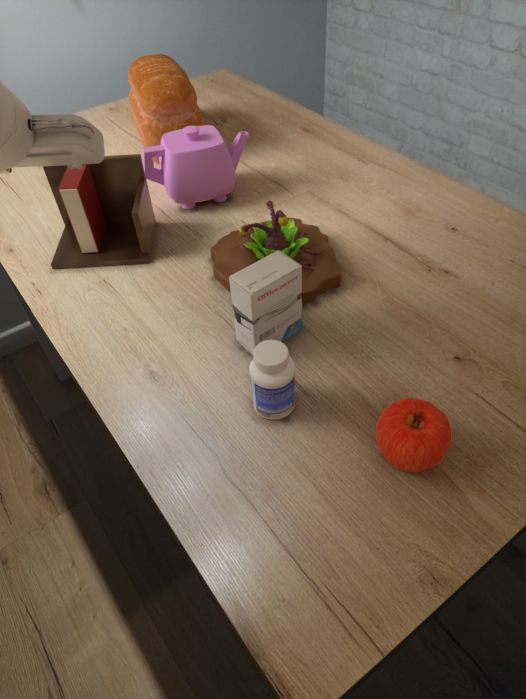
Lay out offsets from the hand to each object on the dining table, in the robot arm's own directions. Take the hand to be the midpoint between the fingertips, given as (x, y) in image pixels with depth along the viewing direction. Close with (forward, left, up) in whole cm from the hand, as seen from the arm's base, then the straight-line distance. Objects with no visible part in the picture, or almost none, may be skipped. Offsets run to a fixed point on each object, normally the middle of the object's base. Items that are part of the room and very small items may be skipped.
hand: (41, 165), depth 69 cm
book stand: (+2, +9, -19) cm, 21 cm away
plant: (+31, 0, -20) cm, 37 cm away
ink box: (+29, -15, -20) cm, 38 cm away
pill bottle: (+29, -27, -20) cm, 44 cm away
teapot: (+18, +24, -20) cm, 36 cm away
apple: (+44, -35, -20) cm, 60 cm away
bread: (+10, +48, -20) cm, 53 cm away
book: (0, +9, -18) cm, 21 cm away
